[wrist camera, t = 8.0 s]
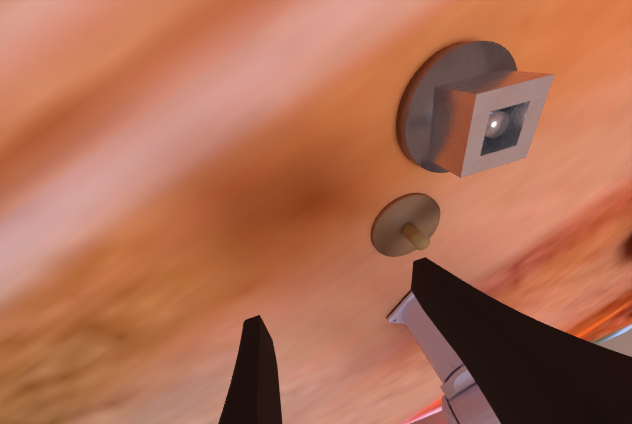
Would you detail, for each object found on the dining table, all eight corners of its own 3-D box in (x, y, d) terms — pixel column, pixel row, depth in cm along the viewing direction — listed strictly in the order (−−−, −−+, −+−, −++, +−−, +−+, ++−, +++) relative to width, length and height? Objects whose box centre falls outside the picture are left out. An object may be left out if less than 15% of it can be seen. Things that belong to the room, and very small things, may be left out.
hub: (519, 85, 20) (582, 93, 17) (444, 180, 23) (483, 204, 20) (455, 10, 16) (521, -2, 12) (374, 138, 19) (407, 159, 15)
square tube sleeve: (501, 69, 17) (554, 74, 15) (485, 142, 20) (526, 157, 18) (434, 86, 17) (476, 94, 14) (427, 159, 20) (460, 177, 17)
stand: (450, 207, 25) (472, 224, 23) (406, 259, 28) (422, 279, 26) (402, 182, 22) (423, 198, 20) (357, 244, 25) (371, 265, 22)
